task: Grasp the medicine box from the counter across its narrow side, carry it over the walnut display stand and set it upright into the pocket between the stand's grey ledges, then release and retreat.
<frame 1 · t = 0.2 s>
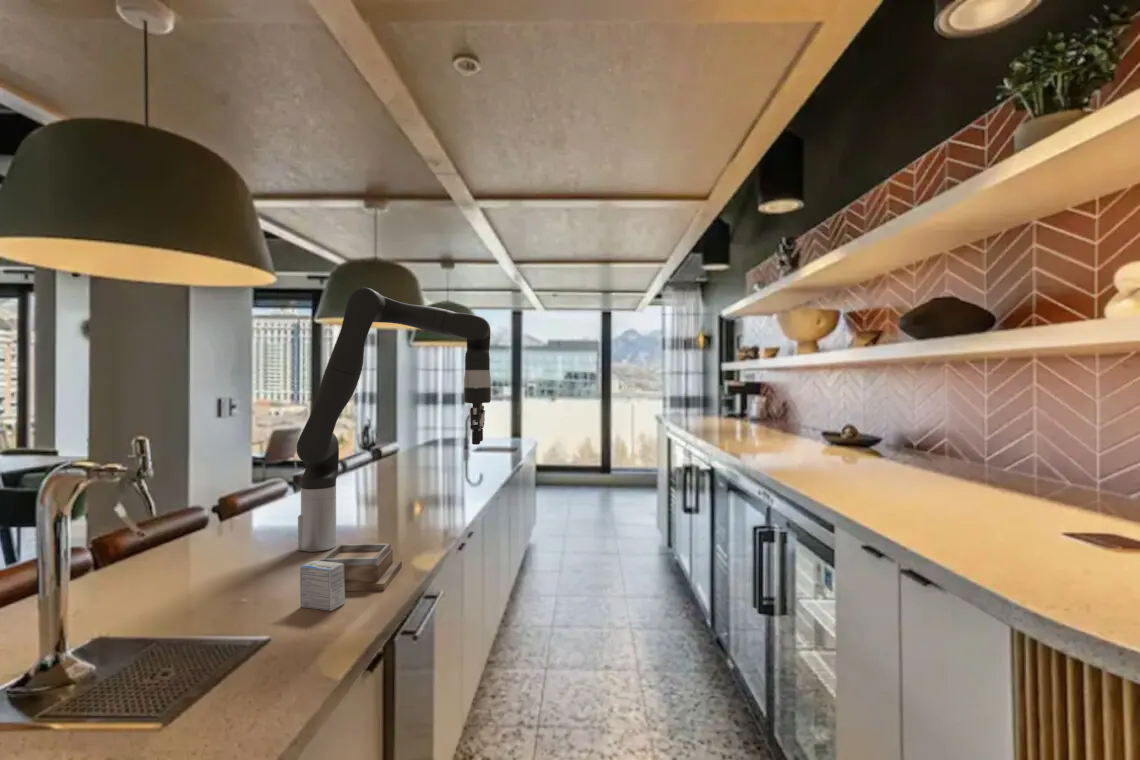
hand: (477, 442, 171), 29 cm above the counter, tool pointing down, fingers open, 8 cm apart
display stand: (357, 578, 142), on the counter
medicine box: (322, 607, 124), on the counter
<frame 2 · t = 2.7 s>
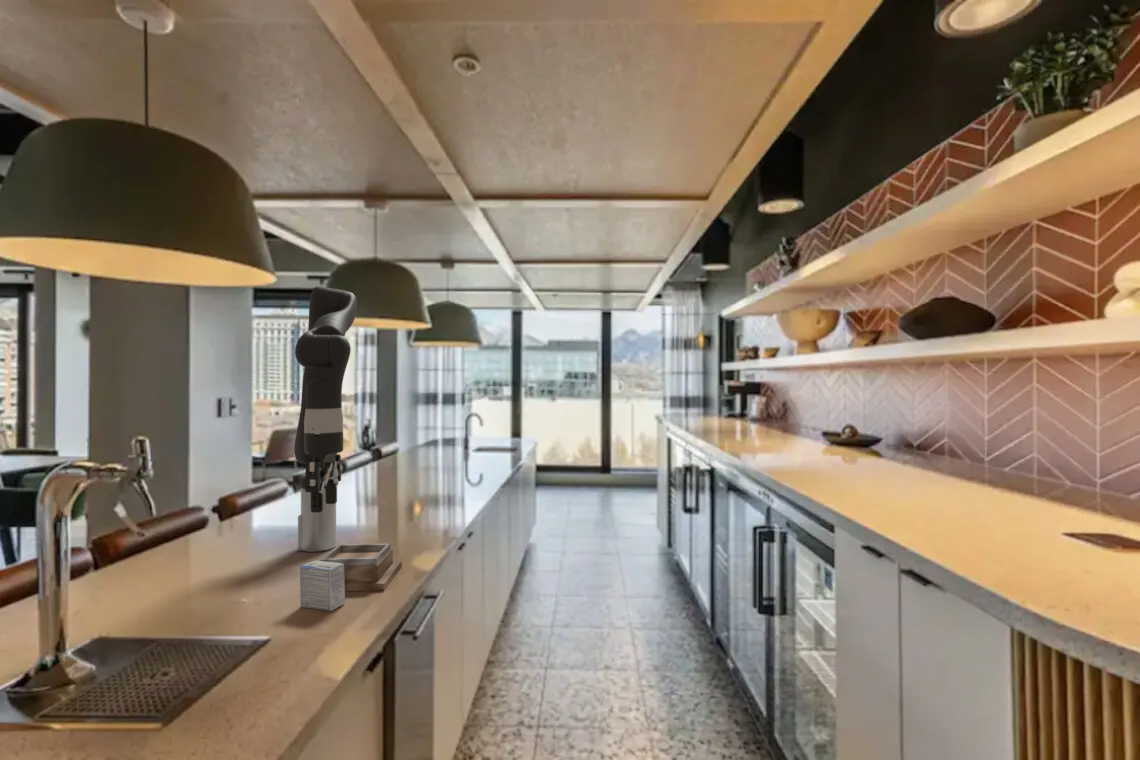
hand: (324, 507, 125), 20 cm above the counter, tool pointing down, fingers open, 8 cm apart
nothing on the counter moved.
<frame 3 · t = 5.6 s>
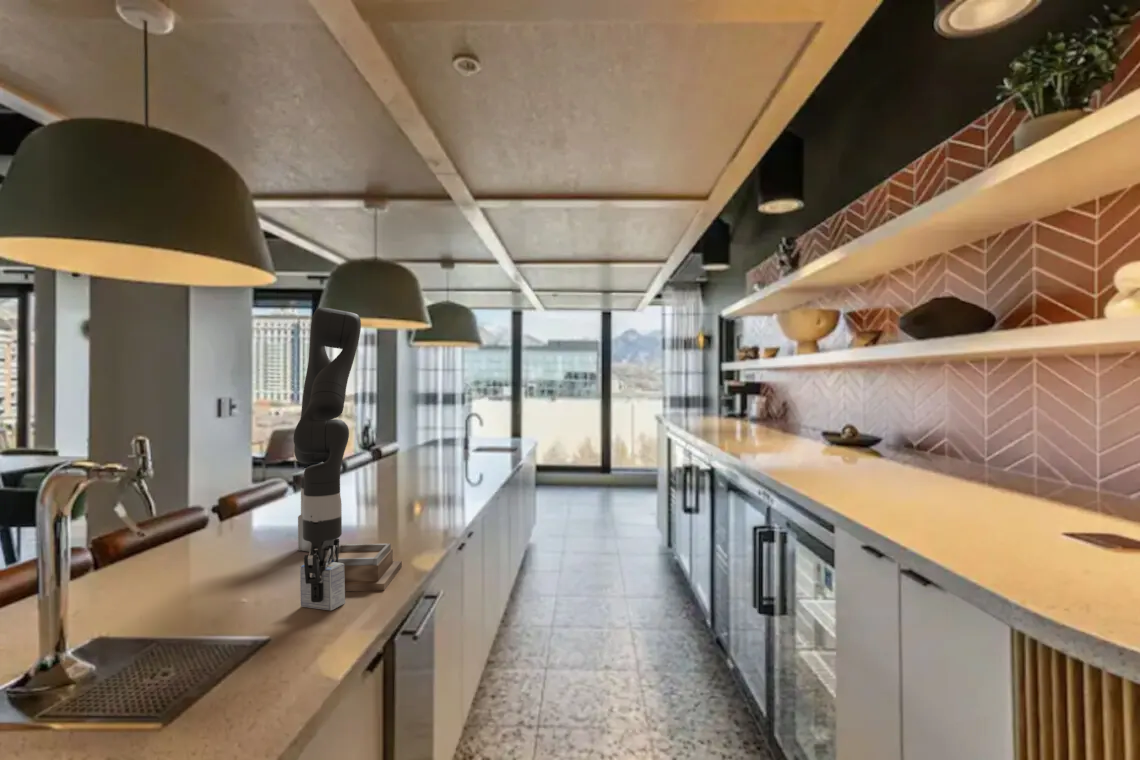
hand: (322, 595, 124), 2 cm above the counter, tool pointing down, fingers closed on medicine box, 5 cm apart
medicine box: (322, 606, 124), on the counter, touching gripper
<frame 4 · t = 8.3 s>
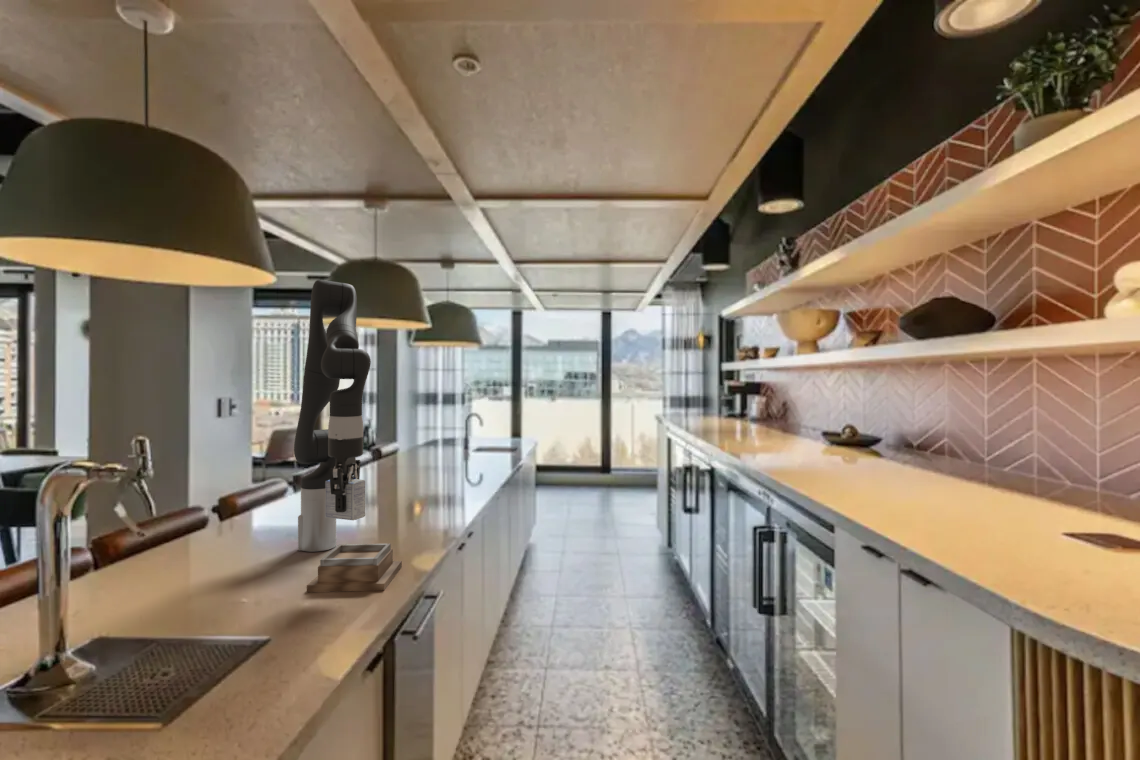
hand: (345, 508, 137), 18 cm above the counter, tool pointing down, fingers closed on medicine box, 5 cm apart
medicine box: (345, 518, 137), point 15 cm above the counter, touching gripper
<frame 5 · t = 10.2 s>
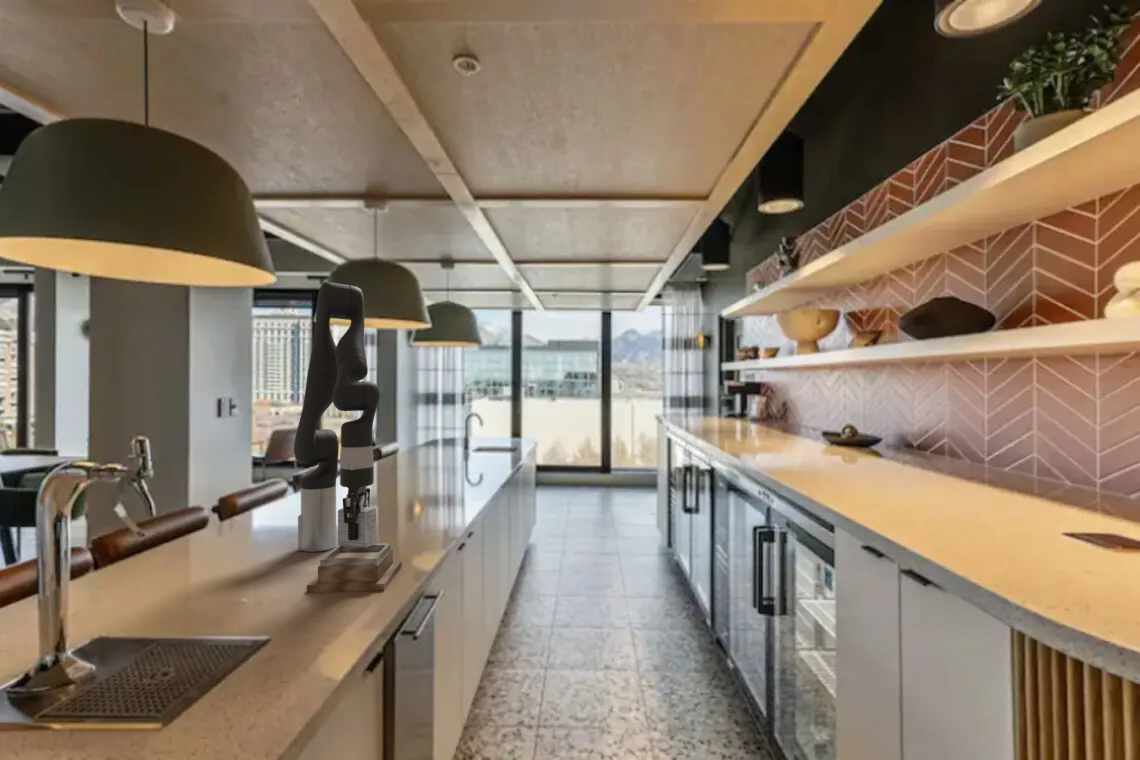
hand: (357, 536, 142), 10 cm above the counter, tool pointing down, fingers closed on medicine box, 5 cm apart
medicine box: (357, 545, 142), point 8 cm above the counter, touching gripper
when the fingers open (8 cm above the counter, at t = 11.4 s): medicine box drops 1 cm, resting on display stand.
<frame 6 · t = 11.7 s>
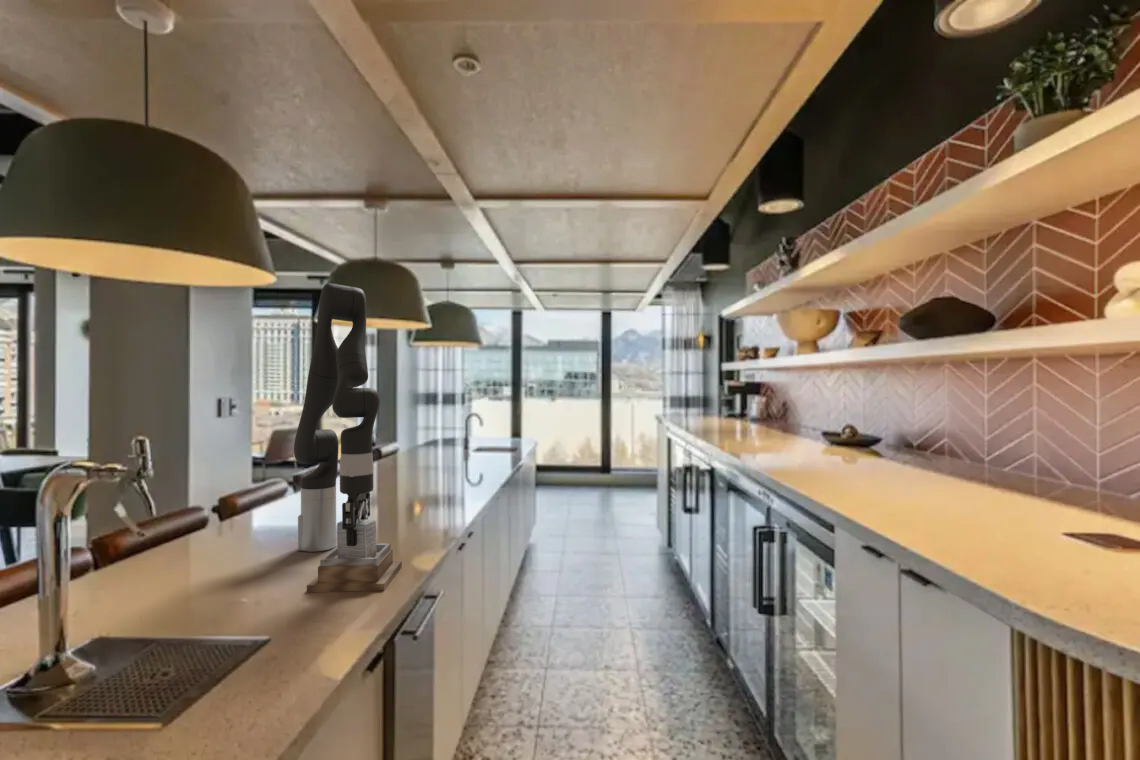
hand: (357, 541, 142), 9 cm above the counter, tool pointing down, fingers open, 7 cm apart
medicine box: (357, 558, 142), point 5 cm above the counter, touching display stand
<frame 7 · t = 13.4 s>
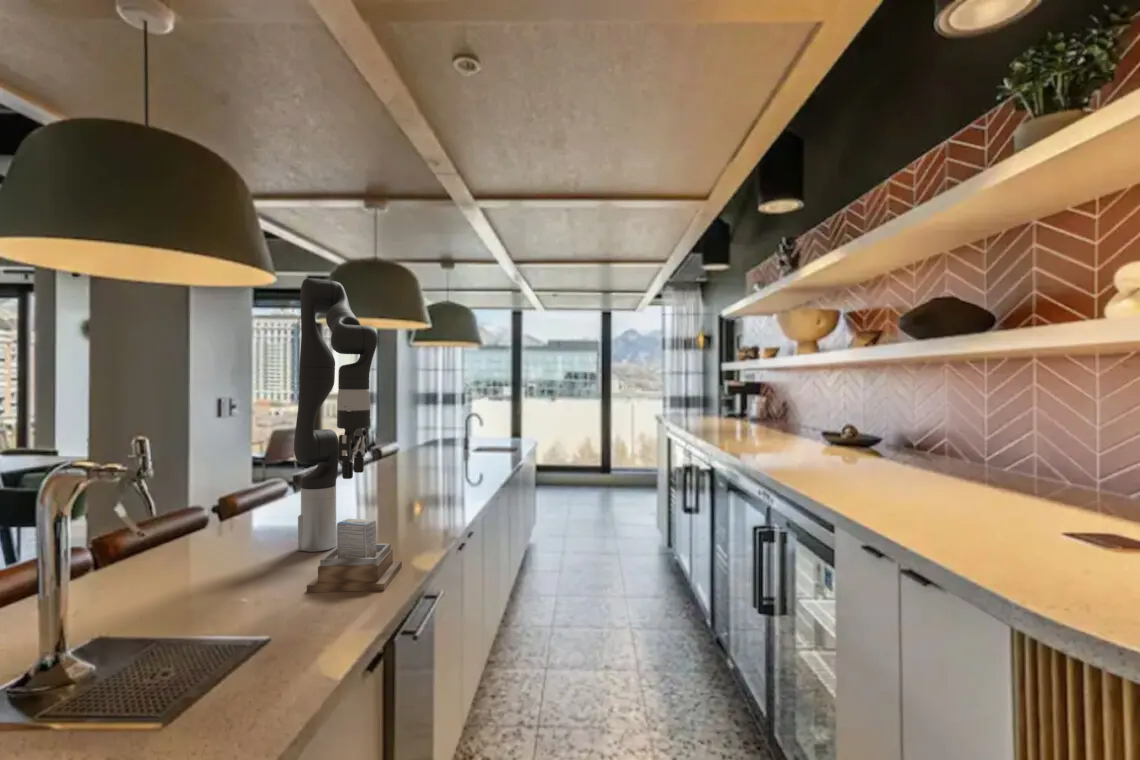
hand: (353, 475, 144), 24 cm above the counter, tool pointing down, fingers open, 8 cm apart
nothing on the counter moved.
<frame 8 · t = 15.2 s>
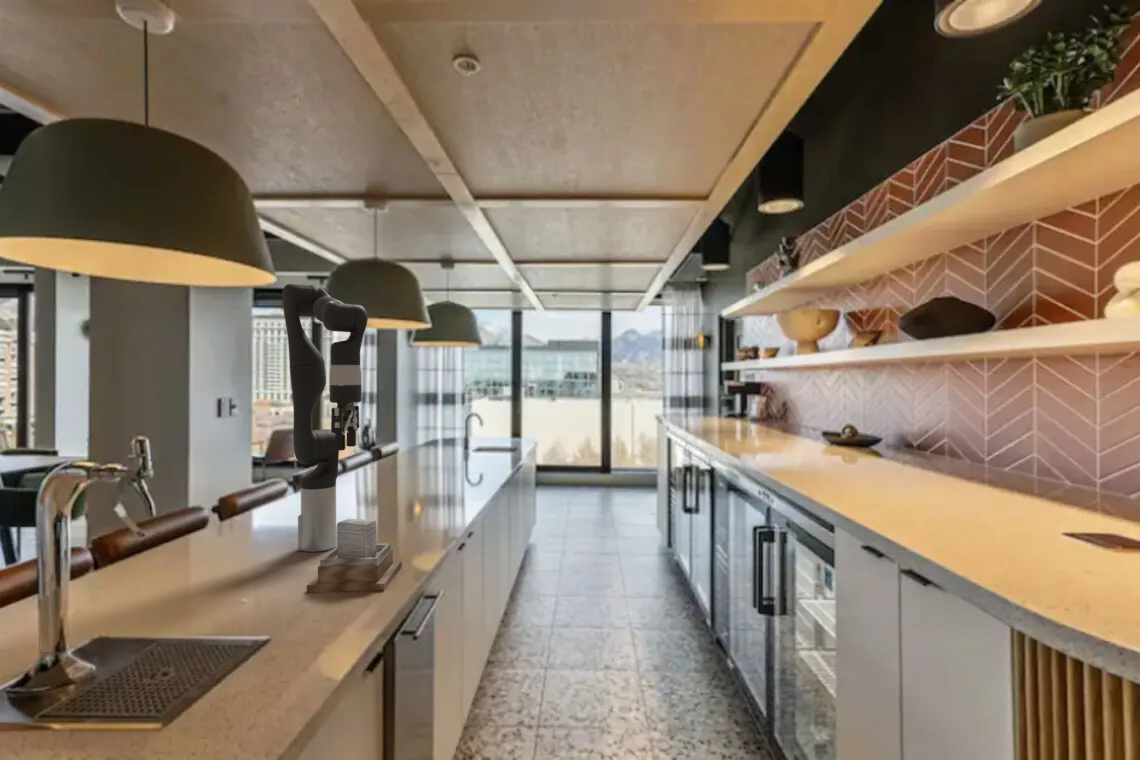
hand: (345, 448, 149), 30 cm above the counter, tool pointing down, fingers open, 8 cm apart
nothing on the counter moved.
at the end: medicine box 0.1 cm off-centre on the display stand, point 4.8 cm above the display stand's base; medicine box tilted 0°; the gripper is holding nothing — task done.
